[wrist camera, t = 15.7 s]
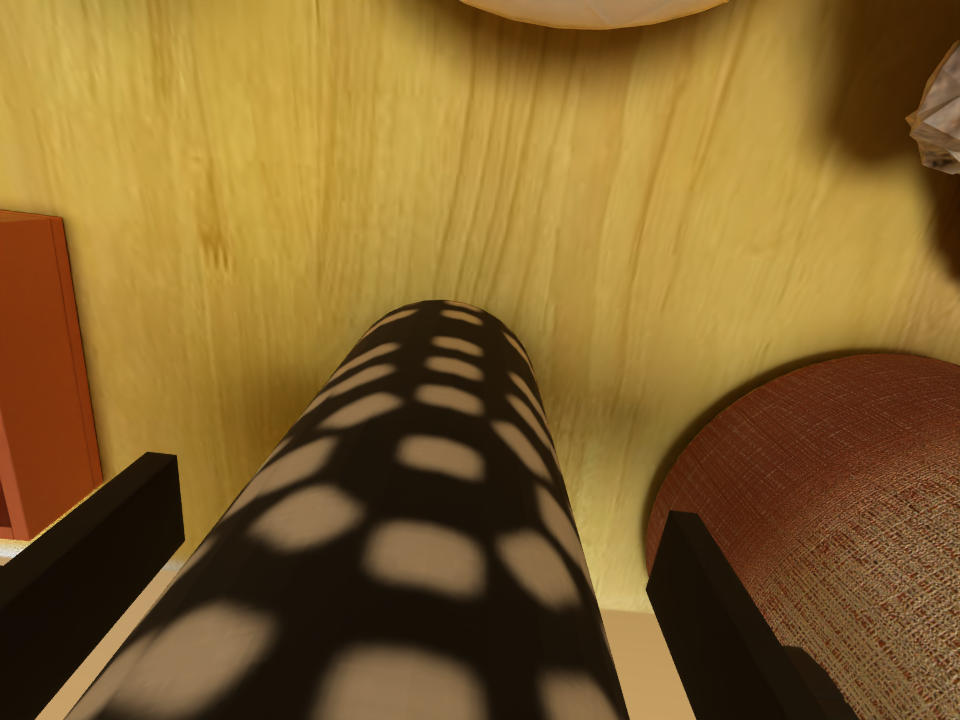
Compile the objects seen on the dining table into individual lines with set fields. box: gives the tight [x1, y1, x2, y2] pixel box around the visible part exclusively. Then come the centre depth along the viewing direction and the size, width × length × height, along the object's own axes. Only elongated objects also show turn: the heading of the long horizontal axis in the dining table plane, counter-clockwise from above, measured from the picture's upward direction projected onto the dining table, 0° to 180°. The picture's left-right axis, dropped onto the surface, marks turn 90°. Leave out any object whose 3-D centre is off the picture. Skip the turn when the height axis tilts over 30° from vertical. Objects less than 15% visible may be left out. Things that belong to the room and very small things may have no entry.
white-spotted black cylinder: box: [63, 300, 630, 720], centre depth 12 cm, size 8×8×20 cm
